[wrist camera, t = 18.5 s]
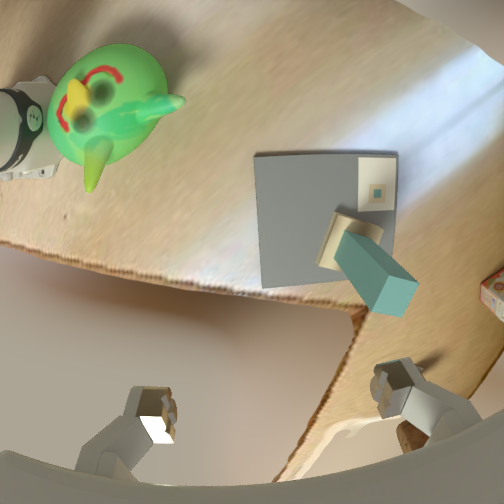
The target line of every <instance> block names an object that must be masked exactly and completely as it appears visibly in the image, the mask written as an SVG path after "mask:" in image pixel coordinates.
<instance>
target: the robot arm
mask: <svg viewBox="0 0 504 504" xmlns="http://www.w3.org/2000/svg"><path fill="white" fill-rule="evenodd" d="M56 87H57V86H56V85H54V84H52V83H51V81H50V80H49V79H48V77H46V76H44V75H42V76H38V77H37V78H35V79H34V80H32V81H31V82H18V83H17V84H16V85H15V86H13V87H12V88H3V89H0V179H2V181H10V180H13V179H48V178H52V177H53V176H54V175H55V173H56V170H57V167H58V164H59V162H60V160H61V159H62V157H63V155H62V154H61V153H60V152H59V151H58V150H57V148H56V147H55V145H54V144H53V142H52V140H51V137H50V134H49V131H48V125H47V114H48V108H49V104H50V100H51V98H52V95H53V93H54V91H55V89H56ZM43 170H44V173H43ZM373 372H374V374H375V376H374V377H373V378H372V379H371V383H370V391H371V395H372V397H373V400H375V401H377V402H378V406H377V408H378V411H379V413H380V415H381V417H382V419H385V418H389V417H393V416H397V415H400V414H401V416H402V417H403V418H405V419H406V420H407V421H409V422H410V423H411V424H413V425H414V426H416V427H417V428H418V429H420V430H421V431H423V432H424V433H425V434H427V435H428V436H429V439H428V440H427V442H426V443H425V445H424V447H422V448H420V449H417V450H414V451H411V452H409V453H406V454H403V455H400V456H397V457H394V458H391V459H387V460H384V461H381V462H377V463H374V464H370V465H366V466H363V467H359V468H355V469H351V470H346V471H342V472H338V473H333V474H328V475H323V476H317V477H312V478H306V479H299V480H292V481H284V482H276V483H266V484H254V485H239V486H181V485H164V484H153V483H143V482H138V481H137V479H136V478H135V477H134V476H133V474H131V472H130V471H131V470H132V469H133V468H134V467H135V465H136V464H137V463H138V462H139V461H140V459H141V458H142V457H143V456H144V455H145V454H146V453H147V451H148V450H149V449H150V448H151V447H152V445H153V443H174V436H175V428H174V426H173V425H174V424H175V423H176V421H177V407H176V403H175V400H174V399H172V398H171V396H172V392H171V389H170V388H169V387H149V386H133V387H132V388H131V390H130V393H129V396H128V400H127V403H126V406H125V410H124V413H123V416H119V417H117V418H116V419H115V420H114V421H112V422H111V423H110V424H109V425H108V426H106V427H105V428H104V429H103V430H102V431H100V432H99V433H98V434H97V435H96V436H94V437H93V438H92V439H91V440H90V441H88V442H87V443H86V444H85V445H83V446H82V448H81V451H80V454H79V457H78V460H77V464H76V467H75V470H71V469H67V468H63V467H59V466H56V465H52V464H49V463H46V462H42V461H39V460H36V459H33V458H30V457H27V456H24V455H21V454H19V453H16V452H13V451H10V450H4V451H2V452H0V504H504V409H502V410H501V411H499V412H497V413H495V414H494V415H492V416H490V417H488V418H486V419H484V420H482V418H481V417H480V415H479V414H478V412H477V410H476V409H475V407H474V406H473V405H472V403H471V402H470V401H469V400H467V399H465V398H463V397H460V396H458V395H456V394H454V393H452V392H450V391H448V390H446V389H444V388H442V387H440V386H438V385H436V384H434V383H432V382H430V381H427V382H426V381H425V379H424V378H423V376H422V375H421V373H420V372H419V370H418V369H417V367H416V366H415V364H414V363H413V361H412V360H411V358H409V357H406V358H402V359H398V360H394V361H389V362H385V363H381V364H377V365H376V366H375V367H374V371H373Z"/></svg>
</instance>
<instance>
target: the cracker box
mask: <svg viewBox="0 0 504 504" xmlns="http://www.w3.org/2000/svg"><path fill="white" fill-rule="evenodd" d="M480 301H481V302H482V303H483V304H484V305H485V306H486V307H488V308H489V309H490V310H491V311H492V312H493V313H494V314H495V315H496V316H497V317H499V318H500V319H501V320H502V321H503V322H504V269H502V270H501V271H499V272H498V273H496V274H495V275H493V276H492V277H490V278H489V279H487V280H486V281H484V282H482V283H481V292H480Z"/></svg>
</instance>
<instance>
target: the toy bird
mask: <svg viewBox="0 0 504 504" xmlns="http://www.w3.org/2000/svg"><path fill="white" fill-rule="evenodd" d="M167 93H168V89H167V81H166V77H165V74H164V72H163V70H162V68H161V66H160V65H159V63H158V62H157V61H156V59H155V58H154V57H153V56H152V55H150V54H149V53H148V52H146V51H145V50H143V49H141V48H139V47H136V46H133V45H129V44H111V45H106V46H103V47H100V48H98V49H96V50H94V51H92V52H90V53H88V54H87V55H85V56H84V57H82V58H81V59H80V60H78V61H77V62H76V63H75V64H74V65H73V66H72V67H71V68H70V69H69V70H68V71H67V72H66V73H65V75H64V76H63V77H62V79H61V80H60V82H59V83H58V85H57V87H56V89H55V91H54V93H53V95H52V98H51V100H50V104H49V108H48V114H47V125H48V131H49V134H50V137H51V140H52V142H53V144H54V145H55V147H56V148H57V150H58V151H59V152H60V153H61V154H62V155H63V156H64V157H65V158H67V159H68V160H70V161H72V162H74V163H76V164H79V165H82V166H84V182H85V189H86V192H87V193H91V192H92V191H93V190H94V189H95V187H96V185H97V183H98V181H99V179H100V176H101V174H102V171H103V169H104V166H105V165H108V164H111V163H114V162H116V161H118V160H120V159H122V158H123V157H125V156H126V155H128V154H129V153H131V152H132V151H133V150H134V149H136V148H137V147H138V146H139V145H140V144H141V143H142V142H143V141H144V140H145V139H146V138H147V137H148V135H149V134H150V133H151V132H152V130H153V129H154V127H155V126H156V124H157V123H158V121H159V119H160V117H162V116H164V115H167V114H169V113H171V112H173V111H175V110H177V109H179V108H181V107H182V106H183V105H184V104H185V102H186V99H185V98H184V97H183V96H180V95H175V94H167Z"/></svg>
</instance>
